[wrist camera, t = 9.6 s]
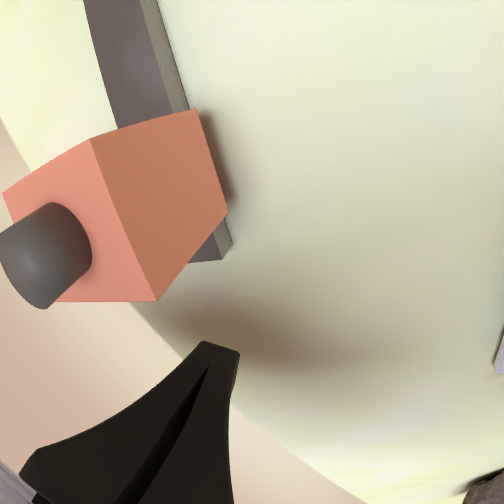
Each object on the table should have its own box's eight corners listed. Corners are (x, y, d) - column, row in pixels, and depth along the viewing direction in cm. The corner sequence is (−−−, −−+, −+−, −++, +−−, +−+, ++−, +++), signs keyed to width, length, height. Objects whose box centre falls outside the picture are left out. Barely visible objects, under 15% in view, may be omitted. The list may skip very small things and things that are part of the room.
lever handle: (228, 212, 9) (122, 347, 4) (134, 230, 10) (24, 331, 6) (196, 108, 7) (30, 161, 3) (103, 146, 9) (-37, 216, 4)
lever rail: (232, 244, 11) (222, 259, 10) (182, 250, 11) (169, 265, 10) (137, -67, 5) (120, -75, 5) (93, -39, 6) (75, -43, 5)
